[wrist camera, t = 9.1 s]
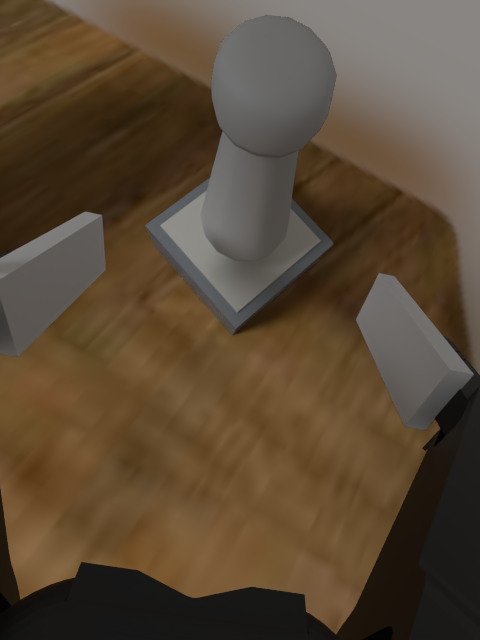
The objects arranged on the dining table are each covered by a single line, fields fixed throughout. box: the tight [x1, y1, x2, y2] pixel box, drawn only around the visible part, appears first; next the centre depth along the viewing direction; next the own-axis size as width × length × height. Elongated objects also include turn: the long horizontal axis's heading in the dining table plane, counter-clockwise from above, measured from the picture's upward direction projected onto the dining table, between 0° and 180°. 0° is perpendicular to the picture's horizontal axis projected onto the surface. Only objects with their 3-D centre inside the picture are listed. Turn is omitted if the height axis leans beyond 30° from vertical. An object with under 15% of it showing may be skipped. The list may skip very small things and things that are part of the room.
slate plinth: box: [145, 178, 334, 335], centre depth 24 cm, size 10×10×4 cm
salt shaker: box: [200, 15, 336, 261], centre depth 16 cm, size 6×6×13 cm
